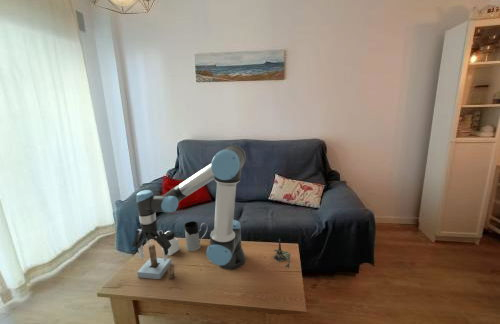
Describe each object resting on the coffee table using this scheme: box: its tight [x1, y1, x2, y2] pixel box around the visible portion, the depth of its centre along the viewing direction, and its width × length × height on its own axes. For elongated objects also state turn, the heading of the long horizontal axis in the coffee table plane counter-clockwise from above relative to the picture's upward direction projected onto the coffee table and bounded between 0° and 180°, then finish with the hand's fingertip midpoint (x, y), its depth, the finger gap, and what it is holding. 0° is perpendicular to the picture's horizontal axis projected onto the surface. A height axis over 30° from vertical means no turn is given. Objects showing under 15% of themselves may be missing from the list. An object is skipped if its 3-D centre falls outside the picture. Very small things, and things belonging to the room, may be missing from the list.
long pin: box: [148, 244, 158, 268], centre depth 123 cm, size 3×3×14 cm
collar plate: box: [136, 257, 173, 280], centre depth 124 cm, size 12×12×3 cm
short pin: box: [166, 264, 175, 280], centre depth 118 cm, size 3×3×6 cm
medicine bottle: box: [161, 230, 180, 256], centre depth 139 cm, size 7×7×12 cm
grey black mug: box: [184, 220, 209, 252], centre depth 143 cm, size 9×14×15 cm, turn 118°
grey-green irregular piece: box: [272, 238, 291, 269], centre depth 128 cm, size 15×10×13 cm
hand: (153, 259), depth 123 cm, fingers open, 13 cm apart
